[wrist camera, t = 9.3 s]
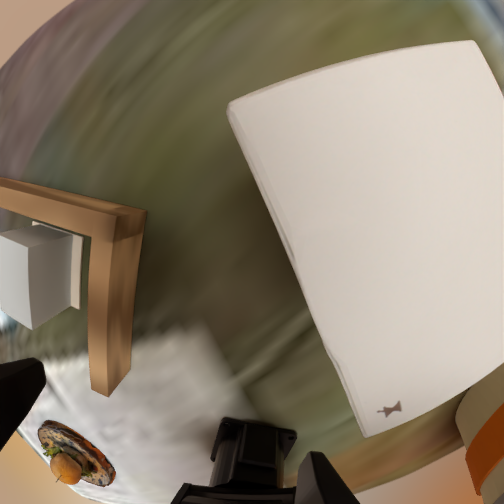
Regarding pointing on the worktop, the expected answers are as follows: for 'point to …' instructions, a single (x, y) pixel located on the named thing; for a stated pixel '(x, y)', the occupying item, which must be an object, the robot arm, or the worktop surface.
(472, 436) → the reusable coffee cup
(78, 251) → the pad
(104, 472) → the burger
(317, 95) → the small box
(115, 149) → the worktop surface
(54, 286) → the block
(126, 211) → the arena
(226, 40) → the worktop surface
